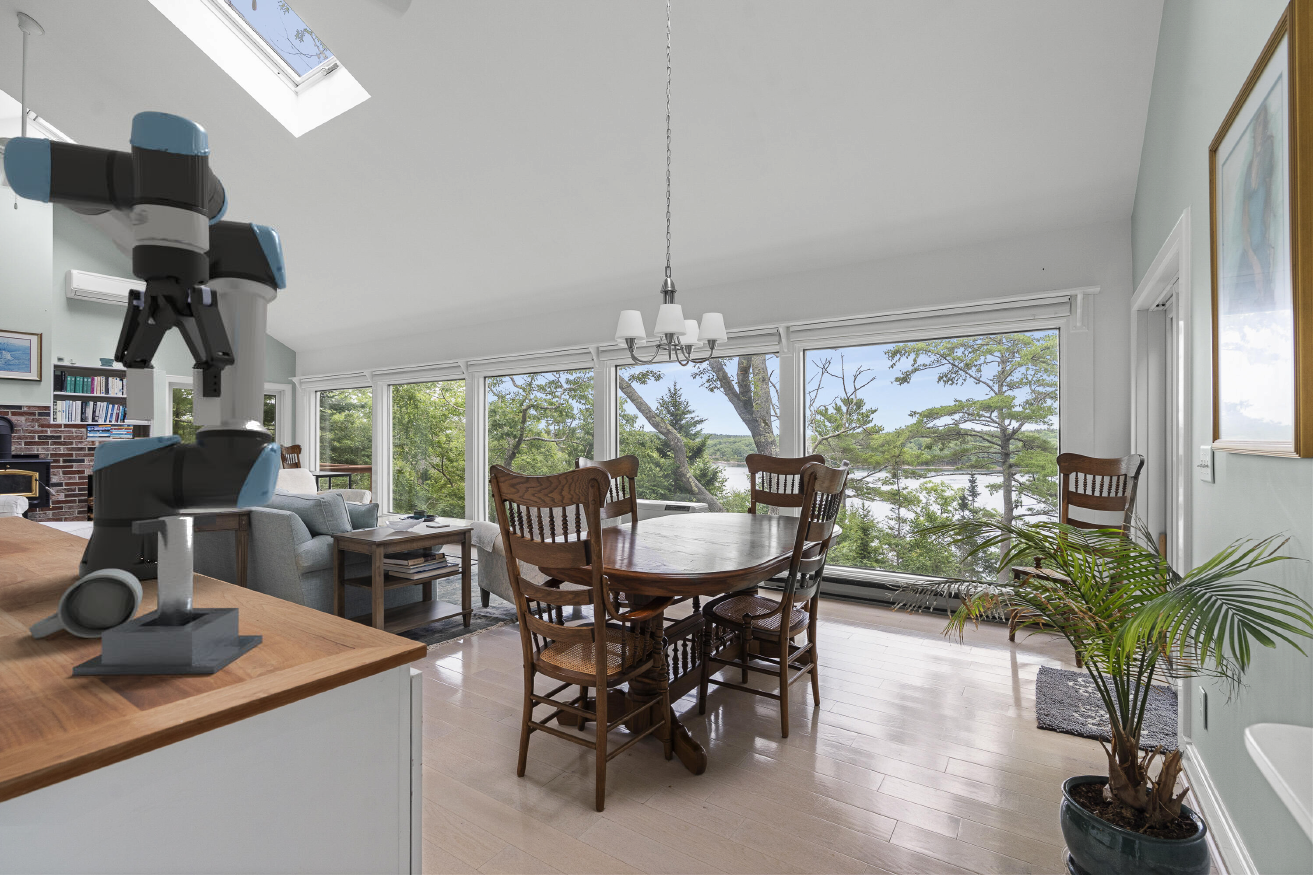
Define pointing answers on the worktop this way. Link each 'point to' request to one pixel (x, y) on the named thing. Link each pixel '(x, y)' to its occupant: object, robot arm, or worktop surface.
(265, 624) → the worktop surface
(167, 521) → the t key
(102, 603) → the ceramic mug
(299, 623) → the worktop surface
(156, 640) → the chuck block
